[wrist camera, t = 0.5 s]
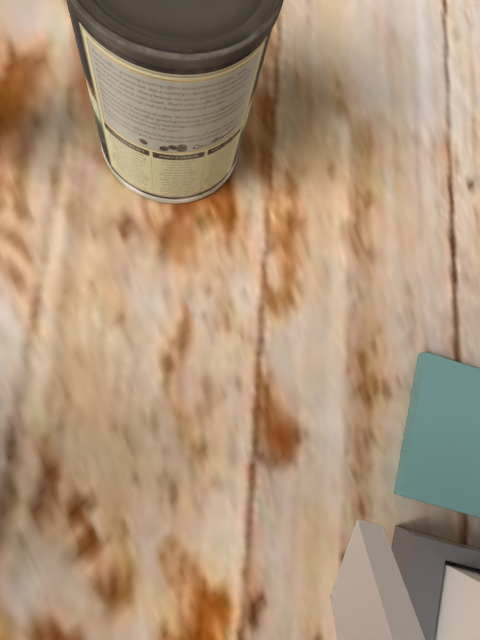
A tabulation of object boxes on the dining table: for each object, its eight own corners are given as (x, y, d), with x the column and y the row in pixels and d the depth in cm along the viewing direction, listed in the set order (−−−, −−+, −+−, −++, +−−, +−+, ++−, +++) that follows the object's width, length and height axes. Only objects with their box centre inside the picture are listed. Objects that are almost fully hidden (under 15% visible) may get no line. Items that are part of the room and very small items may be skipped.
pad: (524, 529, 32) (535, 533, 31) (394, 493, 31) (401, 495, 30) (539, 391, 34) (549, 390, 33) (418, 354, 33) (426, 352, 32)
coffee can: (71, 117, 33) (4, -94, 19) (189, 61, 35) (204, -161, 22) (150, 231, 32) (139, 95, 18) (265, 165, 35) (330, 2, 21)
